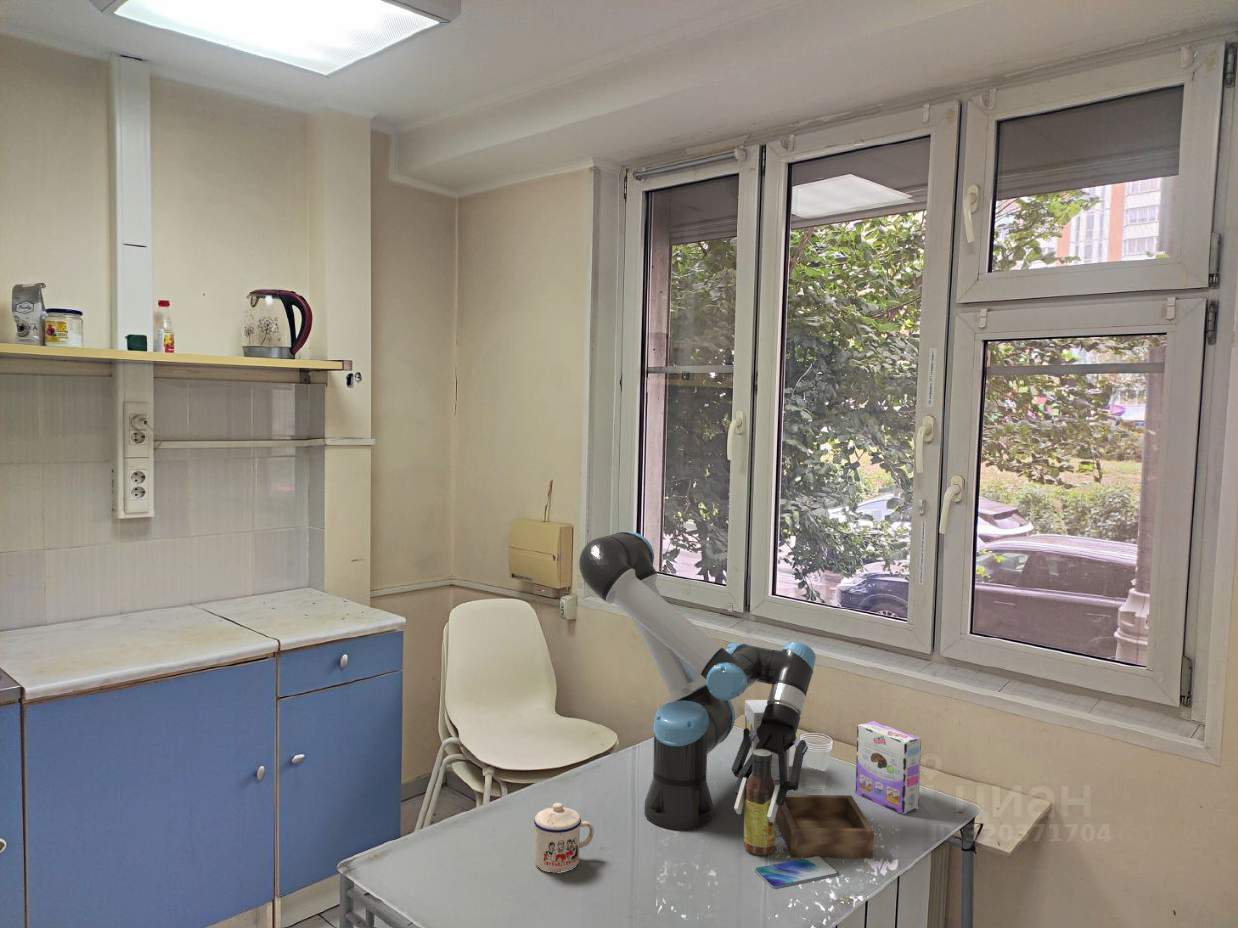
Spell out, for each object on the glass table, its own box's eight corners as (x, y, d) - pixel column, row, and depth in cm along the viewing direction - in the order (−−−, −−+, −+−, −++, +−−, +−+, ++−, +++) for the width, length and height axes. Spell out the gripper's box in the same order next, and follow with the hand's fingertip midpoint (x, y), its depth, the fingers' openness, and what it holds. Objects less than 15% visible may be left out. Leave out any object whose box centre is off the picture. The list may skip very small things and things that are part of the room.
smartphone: (840, 872, 170) (773, 887, 165) (840, 877, 170) (772, 891, 165) (819, 854, 177) (753, 867, 171) (818, 858, 177) (753, 871, 171)
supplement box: (742, 765, 222) (744, 699, 221) (778, 764, 223) (780, 698, 222) (752, 781, 212) (754, 712, 211) (789, 780, 213) (791, 711, 212)
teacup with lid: (541, 878, 167) (542, 818, 166) (528, 855, 175) (528, 797, 174) (601, 867, 171) (602, 808, 170) (585, 845, 180) (586, 789, 179)
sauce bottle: (774, 858, 176) (777, 760, 174) (742, 854, 177) (745, 757, 176) (775, 842, 182) (778, 748, 181) (744, 839, 183) (747, 745, 182)
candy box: (919, 809, 199) (922, 737, 198) (902, 815, 196) (905, 742, 195) (870, 787, 210) (873, 719, 209) (853, 792, 207) (856, 723, 206)
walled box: (790, 857, 177) (791, 830, 176) (775, 819, 193) (776, 794, 193) (873, 858, 177) (874, 831, 176) (850, 819, 193) (851, 795, 193)
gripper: (831, 727, 187) (804, 834, 174) (745, 711, 196) (713, 811, 183) (824, 710, 182) (796, 819, 169) (736, 694, 191) (704, 796, 178)
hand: (753, 815), depth 176 cm, fingers closed on sauce bottle, 6 cm apart
